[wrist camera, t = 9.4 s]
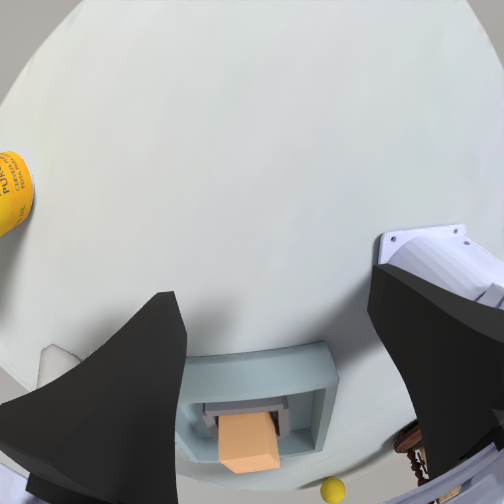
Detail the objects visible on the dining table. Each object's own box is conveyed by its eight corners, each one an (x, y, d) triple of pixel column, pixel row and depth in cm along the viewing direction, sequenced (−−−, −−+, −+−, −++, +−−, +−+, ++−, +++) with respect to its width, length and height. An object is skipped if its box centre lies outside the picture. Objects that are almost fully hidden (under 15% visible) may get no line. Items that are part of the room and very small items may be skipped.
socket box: (325, 340, 23) (339, 378, 19) (315, 423, 30) (322, 451, 26) (151, 358, 23) (141, 395, 19) (194, 434, 30) (192, 462, 26)
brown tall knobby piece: (455, 390, 33) (499, 472, 15) (453, 414, 39) (486, 478, 21) (385, 434, 36) (417, 522, 18) (397, 448, 42) (421, 517, 23)
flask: (103, 372, 24) (76, 449, 15) (84, 393, 26) (61, 457, 17) (48, 333, 22) (7, 404, 13) (37, 360, 24) (6, 420, 15)
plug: (261, 392, 24) (268, 453, 18) (272, 412, 26) (280, 467, 20) (218, 400, 25) (218, 460, 18) (234, 420, 27) (236, 473, 20)
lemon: (326, 474, 43) (332, 503, 36) (345, 471, 44) (353, 499, 37) (313, 481, 45) (318, 508, 38) (332, 479, 46) (338, 505, 39)
